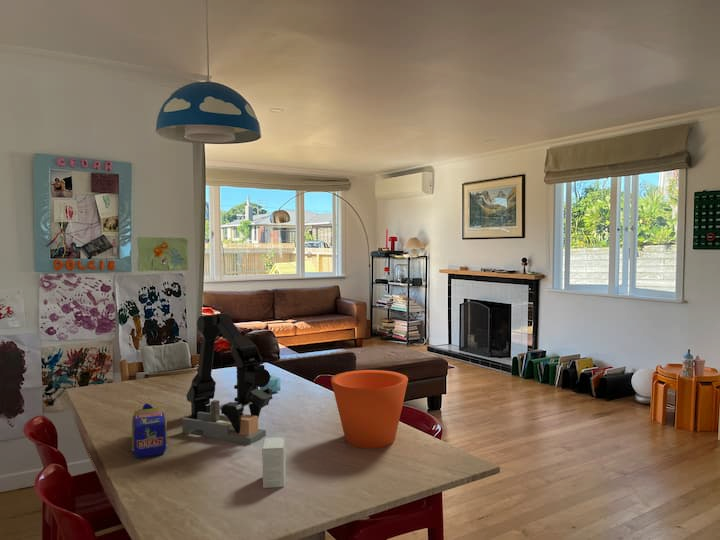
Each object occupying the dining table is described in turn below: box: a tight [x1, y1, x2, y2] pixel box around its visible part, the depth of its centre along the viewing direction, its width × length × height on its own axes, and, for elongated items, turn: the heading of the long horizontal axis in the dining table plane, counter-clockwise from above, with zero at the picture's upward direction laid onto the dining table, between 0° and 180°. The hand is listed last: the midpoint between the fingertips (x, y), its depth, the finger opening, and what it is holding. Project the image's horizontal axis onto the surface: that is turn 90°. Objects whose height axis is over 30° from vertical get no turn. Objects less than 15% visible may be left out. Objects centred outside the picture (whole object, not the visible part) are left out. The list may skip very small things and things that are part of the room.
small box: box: [261, 437, 287, 489], centre depth 140 cm, size 8×6×10 cm
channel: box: [181, 412, 267, 445], centre depth 177 cm, size 28×8×5 cm, turn 66°
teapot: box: [259, 374, 281, 393], centre depth 229 cm, size 12×6×8 cm, turn 41°
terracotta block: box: [236, 413, 259, 436], centre depth 173 cm, size 5×5×5 cm
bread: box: [131, 403, 168, 459], centre depth 168 cm, size 10×25×10 cm, turn 22°
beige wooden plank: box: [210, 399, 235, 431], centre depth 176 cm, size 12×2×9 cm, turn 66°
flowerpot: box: [330, 369, 409, 449], centre depth 171 cm, size 25×25×20 cm
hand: (246, 428), depth 173 cm, fingers open, 9 cm apart
